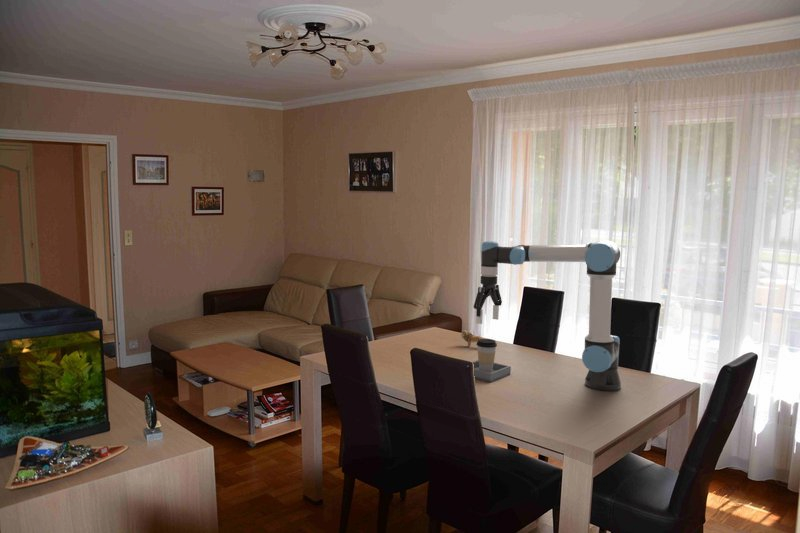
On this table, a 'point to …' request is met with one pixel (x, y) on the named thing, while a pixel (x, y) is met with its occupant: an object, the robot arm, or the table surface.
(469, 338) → the lion figurine
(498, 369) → the bin
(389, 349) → the table surface
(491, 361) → the coffee cup
